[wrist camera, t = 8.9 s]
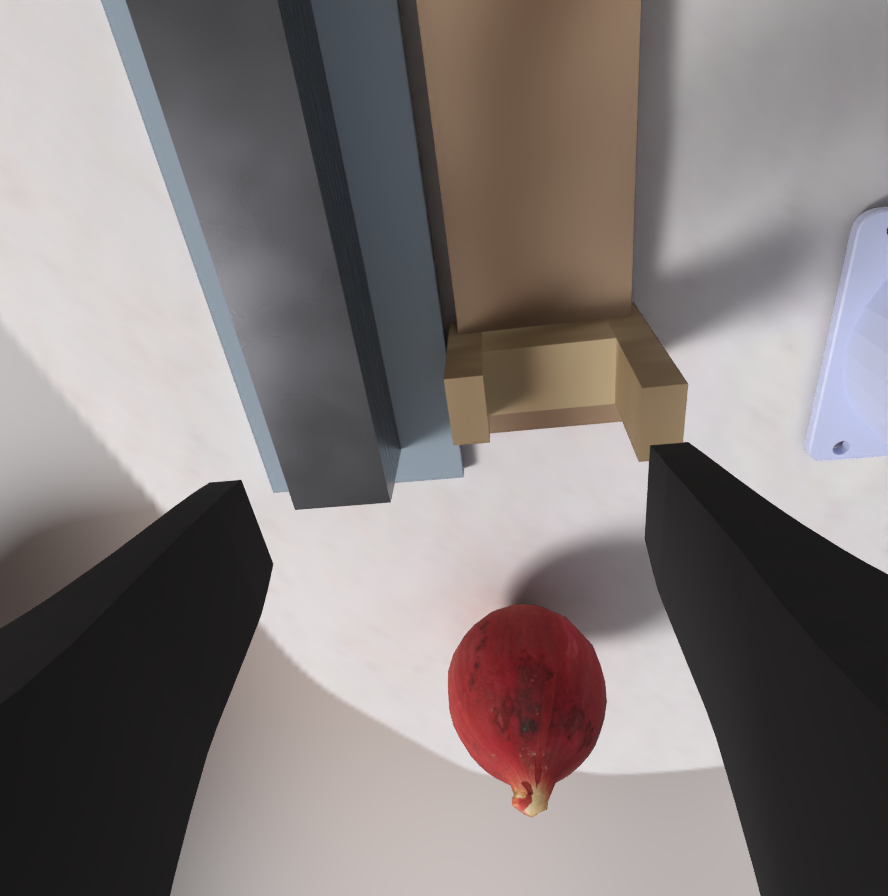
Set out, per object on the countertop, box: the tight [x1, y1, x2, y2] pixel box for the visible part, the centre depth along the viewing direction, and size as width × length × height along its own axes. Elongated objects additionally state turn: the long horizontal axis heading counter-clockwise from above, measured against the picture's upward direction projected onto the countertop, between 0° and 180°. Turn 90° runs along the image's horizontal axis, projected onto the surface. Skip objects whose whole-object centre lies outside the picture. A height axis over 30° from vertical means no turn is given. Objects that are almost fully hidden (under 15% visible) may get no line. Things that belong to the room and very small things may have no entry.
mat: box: [101, 0, 464, 493], centre depth 16 cm, size 7×21×1 cm, turn 7°
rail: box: [126, 0, 401, 510], centre depth 15 cm, size 3×18×3 cm, turn 8°
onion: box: [448, 604, 607, 818], centre depth 22 cm, size 6×6×8 cm
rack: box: [416, 0, 688, 462], centre depth 13 cm, size 6×17×6 cm, turn 8°
